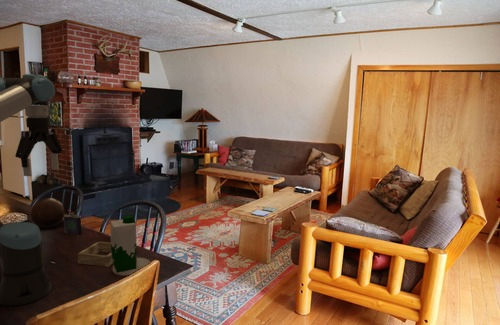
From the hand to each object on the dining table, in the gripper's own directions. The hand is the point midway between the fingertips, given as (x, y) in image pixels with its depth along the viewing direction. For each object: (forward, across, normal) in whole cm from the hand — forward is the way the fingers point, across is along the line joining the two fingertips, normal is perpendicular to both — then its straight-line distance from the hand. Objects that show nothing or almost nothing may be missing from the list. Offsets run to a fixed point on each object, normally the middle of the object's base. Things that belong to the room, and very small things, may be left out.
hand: (42, 172), depth 137 cm
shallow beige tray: (+37, +9, -18) cm, 42 cm away
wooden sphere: (+37, +36, +32) cm, 61 cm away
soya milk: (+36, +2, -32) cm, 48 cm away
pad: (+37, +4, -34) cm, 50 cm away
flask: (+37, +30, +13) cm, 50 cm away
